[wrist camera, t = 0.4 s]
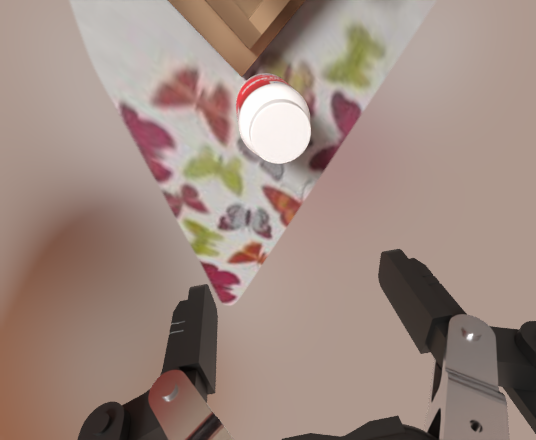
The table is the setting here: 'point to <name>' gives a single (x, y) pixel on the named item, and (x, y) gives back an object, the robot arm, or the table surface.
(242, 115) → the pill bottle
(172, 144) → the table surface
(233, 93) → the table surface
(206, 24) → the holder
